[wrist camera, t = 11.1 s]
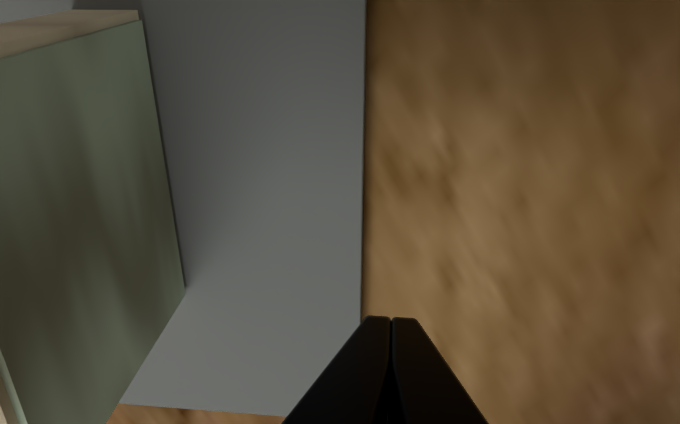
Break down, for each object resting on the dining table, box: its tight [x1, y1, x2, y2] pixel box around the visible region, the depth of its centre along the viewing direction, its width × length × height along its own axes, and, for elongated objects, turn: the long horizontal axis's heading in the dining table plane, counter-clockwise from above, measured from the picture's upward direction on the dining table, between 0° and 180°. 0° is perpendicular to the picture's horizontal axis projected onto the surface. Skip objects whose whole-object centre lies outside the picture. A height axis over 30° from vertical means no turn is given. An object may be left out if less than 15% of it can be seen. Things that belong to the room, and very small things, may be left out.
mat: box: [0, 0, 366, 417], centre depth 15 cm, size 18×16×1 cm
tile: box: [0, 10, 186, 424], centre depth 11 cm, size 8×2×7 cm, turn 0°
